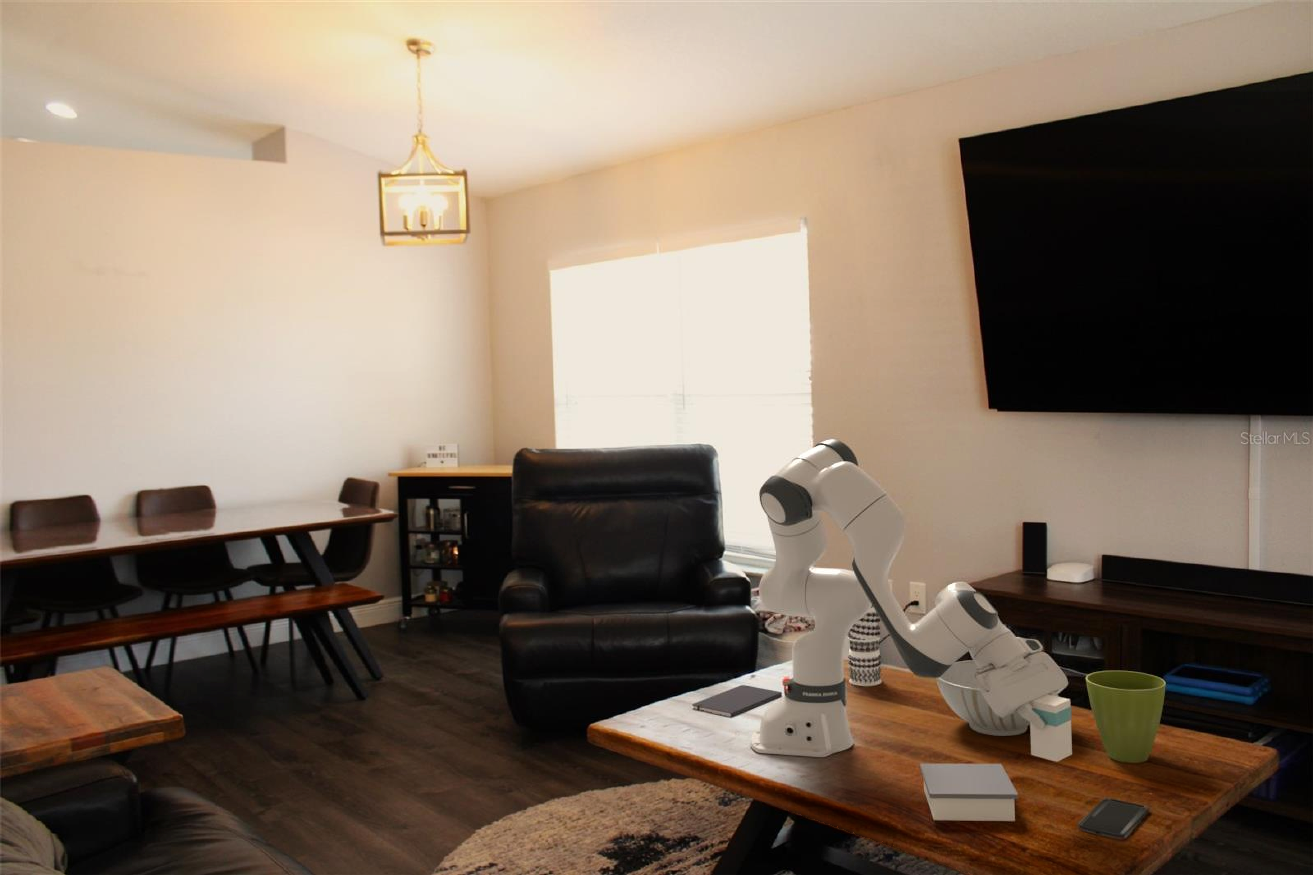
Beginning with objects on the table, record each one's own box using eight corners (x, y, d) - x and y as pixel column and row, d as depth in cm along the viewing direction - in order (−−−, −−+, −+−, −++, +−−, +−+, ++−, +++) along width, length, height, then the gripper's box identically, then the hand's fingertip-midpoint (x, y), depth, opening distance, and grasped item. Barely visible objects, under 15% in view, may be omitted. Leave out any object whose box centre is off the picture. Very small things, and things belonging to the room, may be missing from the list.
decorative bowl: (984, 754, 216) (982, 697, 215) (914, 718, 241) (912, 667, 241) (1088, 736, 224) (1087, 681, 224) (1010, 703, 250) (1008, 654, 249)
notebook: (731, 719, 248) (782, 698, 264) (731, 713, 248) (781, 692, 264) (691, 710, 257) (742, 690, 273) (690, 704, 257) (742, 684, 273)
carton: (1030, 754, 185) (1028, 700, 184) (1046, 747, 188) (1044, 693, 188) (1057, 762, 181) (1055, 706, 180) (1072, 754, 184) (1070, 699, 184)
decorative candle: (848, 686, 270) (844, 592, 269) (847, 676, 279) (844, 585, 278) (883, 686, 269) (880, 591, 268) (881, 677, 278) (878, 585, 277)
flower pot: (1076, 745, 219) (1074, 671, 218) (1147, 743, 218) (1145, 668, 218) (1105, 771, 204) (1102, 691, 203) (1181, 768, 203) (1179, 688, 203)
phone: (1150, 807, 184) (1123, 836, 173) (1150, 813, 184) (1123, 842, 173) (1104, 797, 189) (1075, 824, 178) (1104, 803, 189) (1075, 831, 178)
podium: (930, 821, 184) (929, 793, 183) (920, 789, 199) (919, 763, 198) (1019, 822, 182) (1018, 794, 181) (1001, 789, 197) (1001, 764, 196)
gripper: (980, 661, 182) (1032, 728, 175) (1043, 638, 195) (1094, 700, 188) (959, 681, 186) (1010, 747, 179) (1022, 657, 199) (1071, 718, 192)
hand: (1053, 723), depth 184 cm, fingers closed on carton, 5 cm apart
